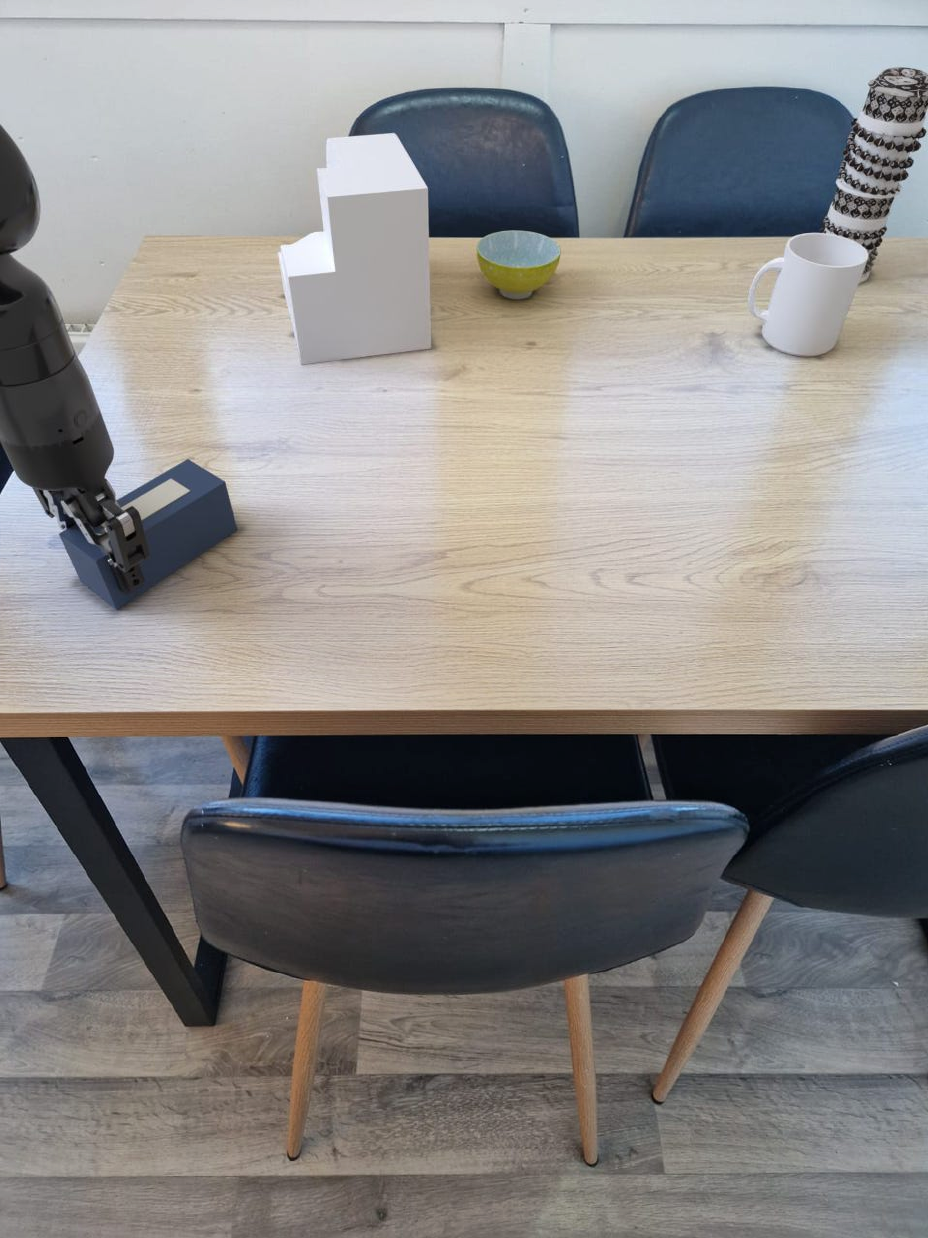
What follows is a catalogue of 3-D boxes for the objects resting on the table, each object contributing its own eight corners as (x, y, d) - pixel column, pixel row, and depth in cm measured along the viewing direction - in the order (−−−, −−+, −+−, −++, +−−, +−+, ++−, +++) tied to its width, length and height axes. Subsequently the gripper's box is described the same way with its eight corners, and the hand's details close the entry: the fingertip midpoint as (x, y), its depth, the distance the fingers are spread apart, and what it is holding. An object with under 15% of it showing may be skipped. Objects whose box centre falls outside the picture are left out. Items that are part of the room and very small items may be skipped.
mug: (845, 358, 105) (881, 266, 96) (752, 359, 105) (779, 268, 96) (820, 320, 111) (851, 232, 103) (732, 322, 111) (755, 233, 102)
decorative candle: (857, 292, 117) (933, 88, 99) (795, 272, 121) (857, 73, 103) (881, 269, 122) (957, 71, 104) (820, 251, 126) (884, 57, 107)
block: (279, 273, 119) (256, 124, 105) (392, 262, 122) (384, 114, 108) (301, 364, 103) (277, 201, 88) (431, 348, 106) (427, 187, 91)
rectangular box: (116, 610, 74) (95, 560, 70) (80, 582, 77) (57, 532, 72) (237, 530, 82) (225, 480, 77) (201, 507, 84) (187, 457, 80)
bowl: (572, 287, 117) (577, 243, 113) (528, 320, 111) (531, 274, 106) (505, 265, 121) (507, 222, 117) (459, 295, 115) (459, 251, 111)
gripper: (-51, 400, 64) (31, 560, 77) (56, 475, 58) (126, 634, 71) (37, 361, 68) (101, 518, 81) (145, 427, 62) (196, 586, 75)
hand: (112, 572), depth 76 cm, fingers closed on rectangular box, 5 cm apart
